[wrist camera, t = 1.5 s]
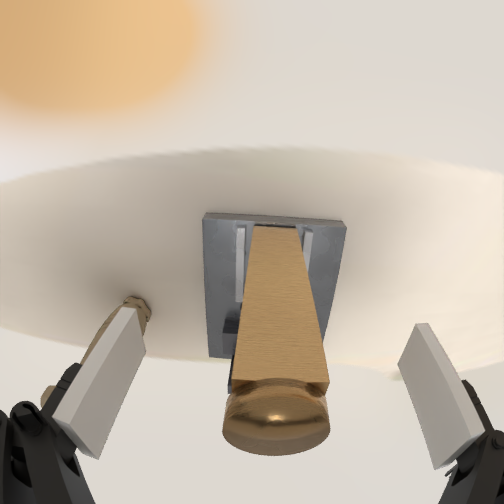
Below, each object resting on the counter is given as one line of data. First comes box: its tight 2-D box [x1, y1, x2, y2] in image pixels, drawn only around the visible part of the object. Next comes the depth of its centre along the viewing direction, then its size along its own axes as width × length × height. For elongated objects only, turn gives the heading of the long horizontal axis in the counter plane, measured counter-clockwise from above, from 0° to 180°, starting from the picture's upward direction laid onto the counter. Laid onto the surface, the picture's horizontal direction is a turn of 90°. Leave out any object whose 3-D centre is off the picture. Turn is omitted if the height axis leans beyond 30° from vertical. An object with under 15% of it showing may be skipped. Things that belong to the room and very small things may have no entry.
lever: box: [222, 226, 330, 456], centre depth 15 cm, size 4×4×15 cm
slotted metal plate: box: [202, 213, 347, 394], centre depth 23 cm, size 11×14×6 cm
